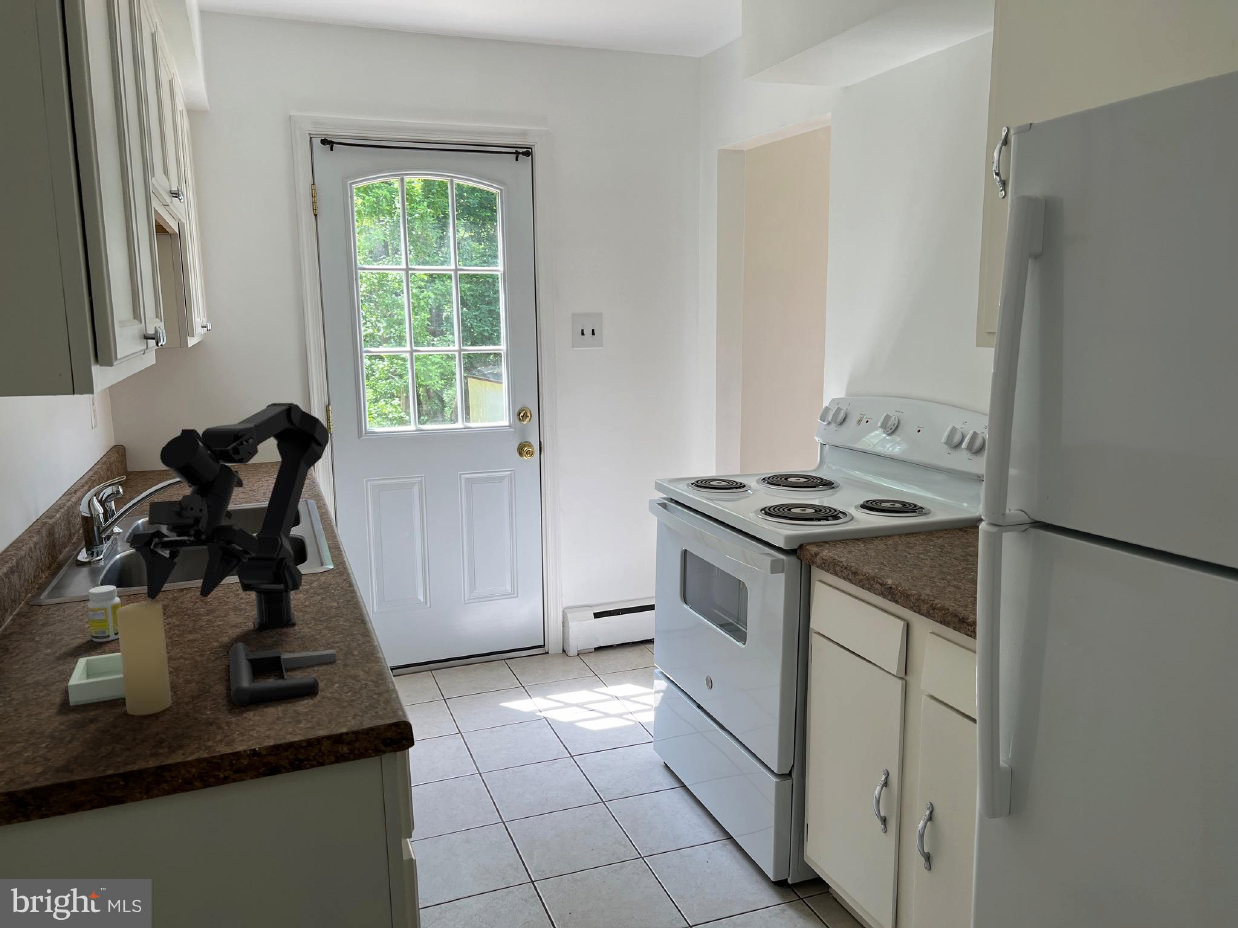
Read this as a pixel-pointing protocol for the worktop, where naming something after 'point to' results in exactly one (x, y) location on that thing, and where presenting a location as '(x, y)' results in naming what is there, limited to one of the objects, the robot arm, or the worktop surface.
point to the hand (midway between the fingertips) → (176, 597)
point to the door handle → (268, 662)
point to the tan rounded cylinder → (144, 658)
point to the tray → (97, 679)
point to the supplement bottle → (103, 613)
